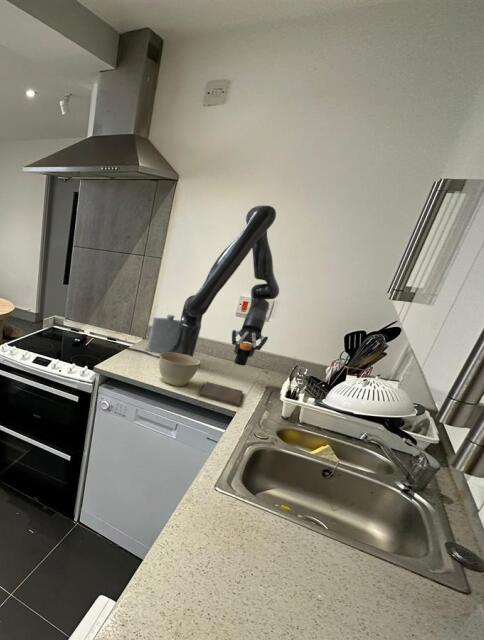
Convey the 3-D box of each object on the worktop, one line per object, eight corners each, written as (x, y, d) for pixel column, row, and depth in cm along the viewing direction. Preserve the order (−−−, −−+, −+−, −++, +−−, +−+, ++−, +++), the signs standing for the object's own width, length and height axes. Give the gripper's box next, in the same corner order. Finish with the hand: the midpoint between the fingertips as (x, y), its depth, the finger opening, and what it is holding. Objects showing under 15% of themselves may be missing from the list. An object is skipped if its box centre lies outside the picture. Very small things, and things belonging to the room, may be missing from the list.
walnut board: (199, 395, 157) (200, 393, 157) (206, 384, 170) (206, 381, 169) (237, 406, 151) (238, 403, 150) (241, 393, 163) (242, 390, 163)
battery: (233, 363, 167) (240, 343, 163) (234, 361, 170) (241, 340, 166) (245, 366, 164) (252, 345, 161) (246, 363, 168) (253, 343, 164)
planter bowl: (201, 386, 167) (208, 362, 163) (176, 392, 159) (183, 367, 155) (170, 372, 180) (176, 350, 175) (146, 377, 172) (151, 354, 167)
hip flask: (176, 353, 208) (186, 316, 200) (178, 355, 205) (187, 318, 197) (146, 348, 211) (154, 312, 203) (147, 351, 207) (155, 314, 199)
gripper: (237, 313, 169) (225, 346, 164) (275, 320, 162) (264, 354, 157) (234, 323, 175) (223, 354, 170) (271, 330, 168) (260, 363, 164)
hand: (242, 354), depth 164 cm, fingers closed on battery, 4 cm apart
